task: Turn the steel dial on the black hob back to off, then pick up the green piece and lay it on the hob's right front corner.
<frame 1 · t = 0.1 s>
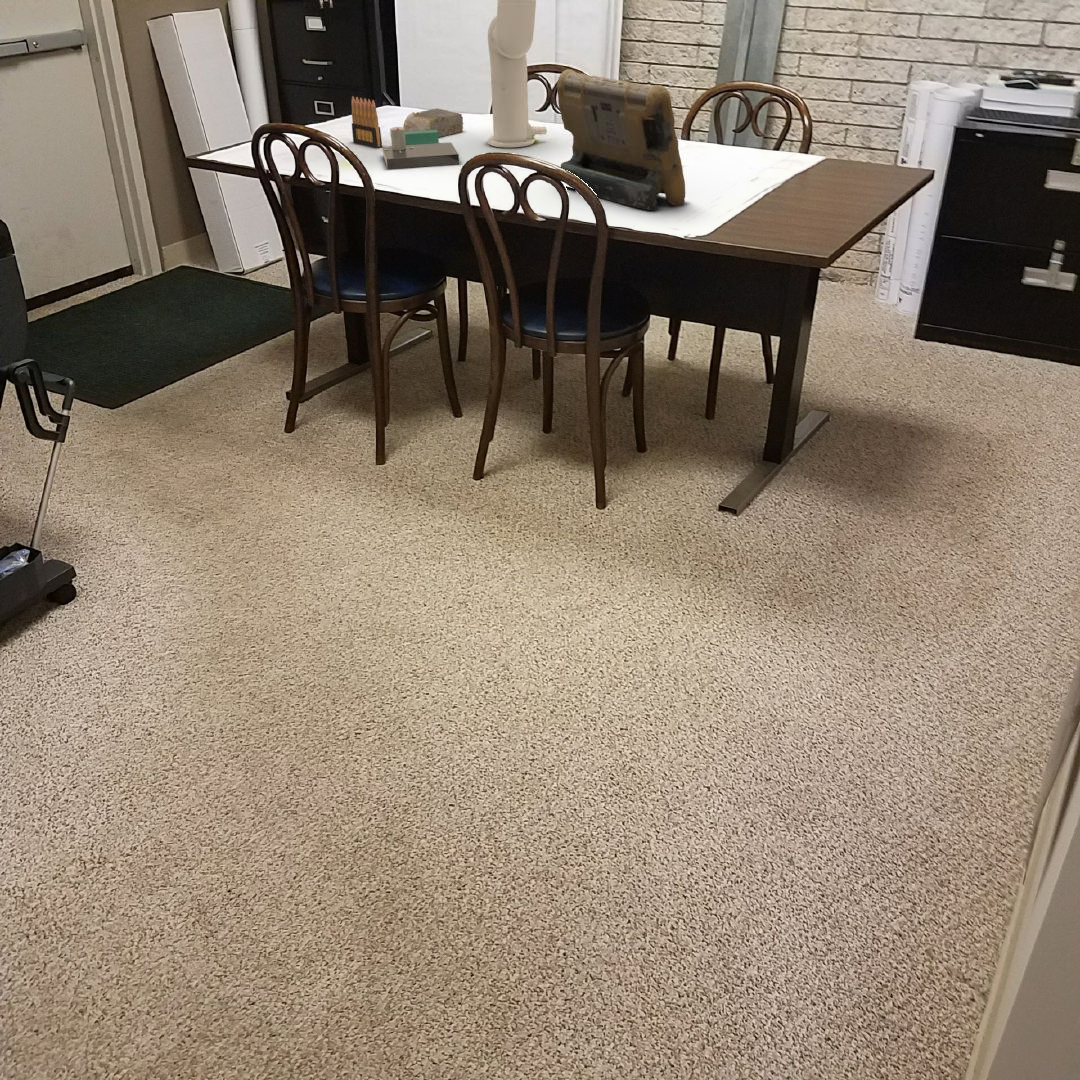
hand: (328, 23, 262), 31 cm above the table, tool pointing down, fingers open, 9 cm apart
tablet: (619, 195, 239), on the table
dial: (398, 138, 270), point 5 cm above the table, hinge at 90.0°
geological specimen: (433, 134, 299), on the table
ammunition clip: (367, 145, 289), on the table
green piece: (421, 146, 285), on the table
hob: (420, 160, 271), on the table
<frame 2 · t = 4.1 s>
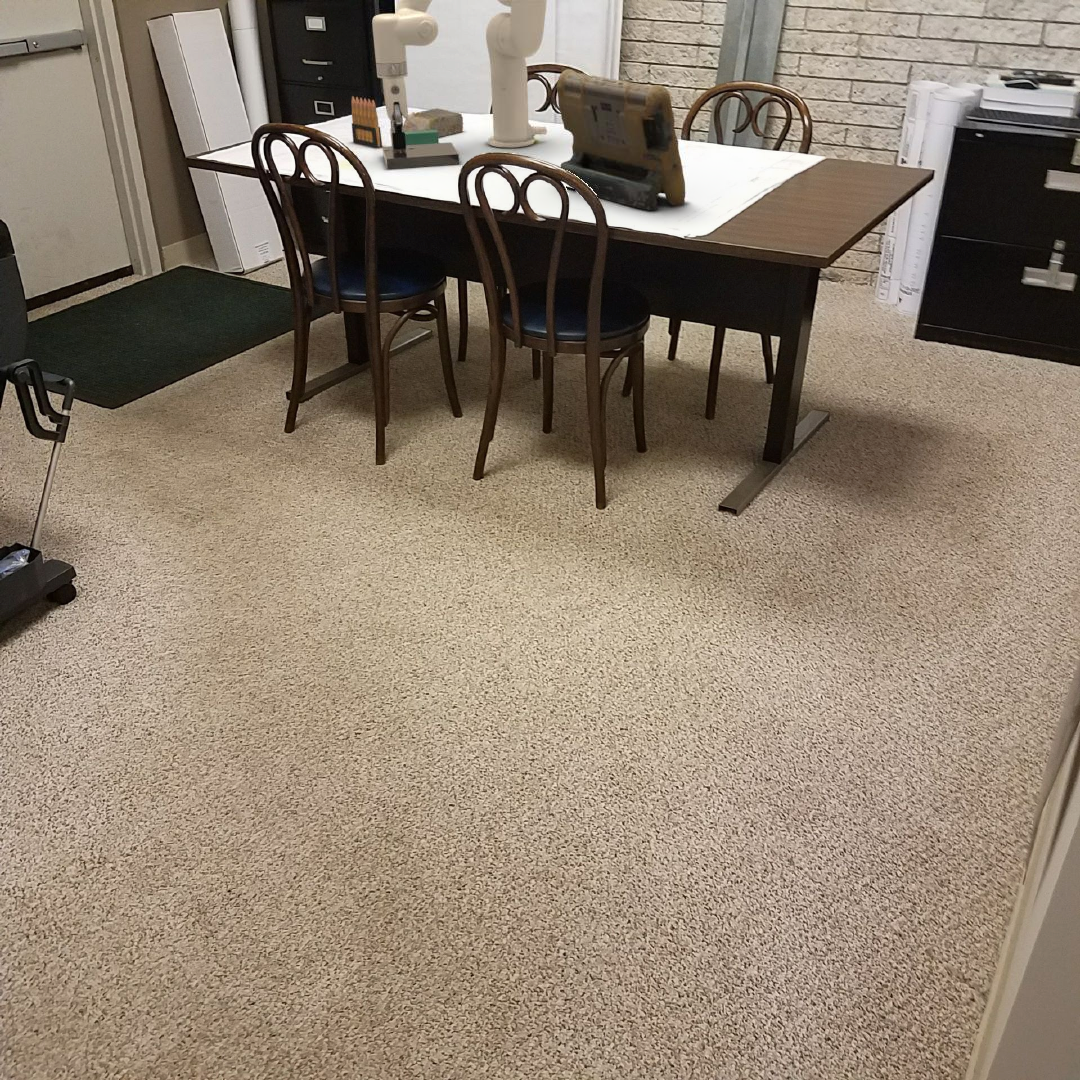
hand: (398, 146, 271), 3 cm above the table, tool pointing down, fingers closed on dial, 3 cm apart
dial: (398, 138, 270), point 5 cm above the table, hinge at 90.0°, touching gripper
everything else where it was.
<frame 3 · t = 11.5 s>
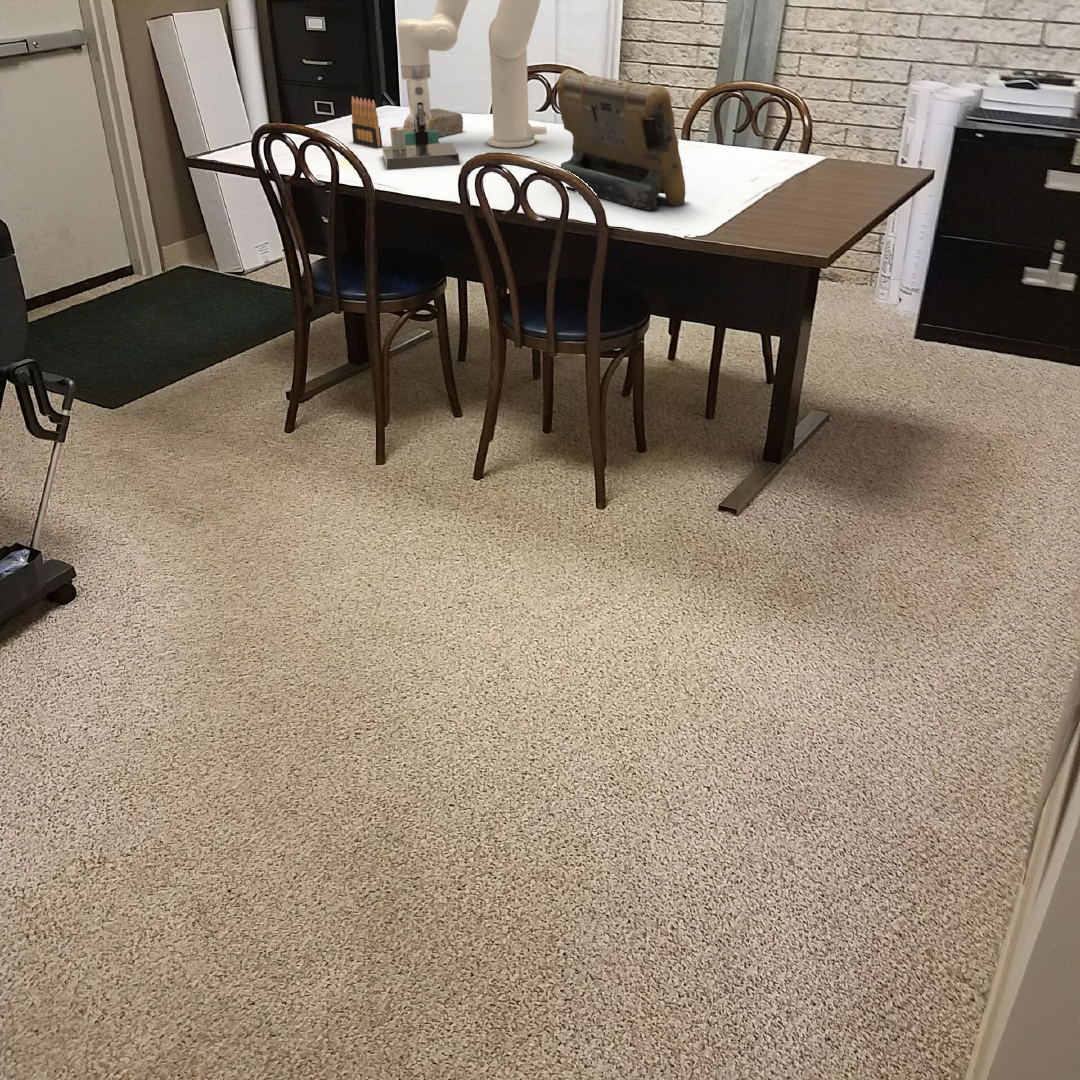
hand: (421, 145, 285), 0 cm above the table, tool pointing down, fingers closed on green piece, 3 cm apart
dial: (398, 138, 270), point 5 cm above the table, hinge at -0.6°
green piece: (421, 146, 285), on the table, touching gripper
everything else where it was.
when the fingers open (3 cm above the table, at t = 20.2 s): green piece stays where it is, resting on hob.
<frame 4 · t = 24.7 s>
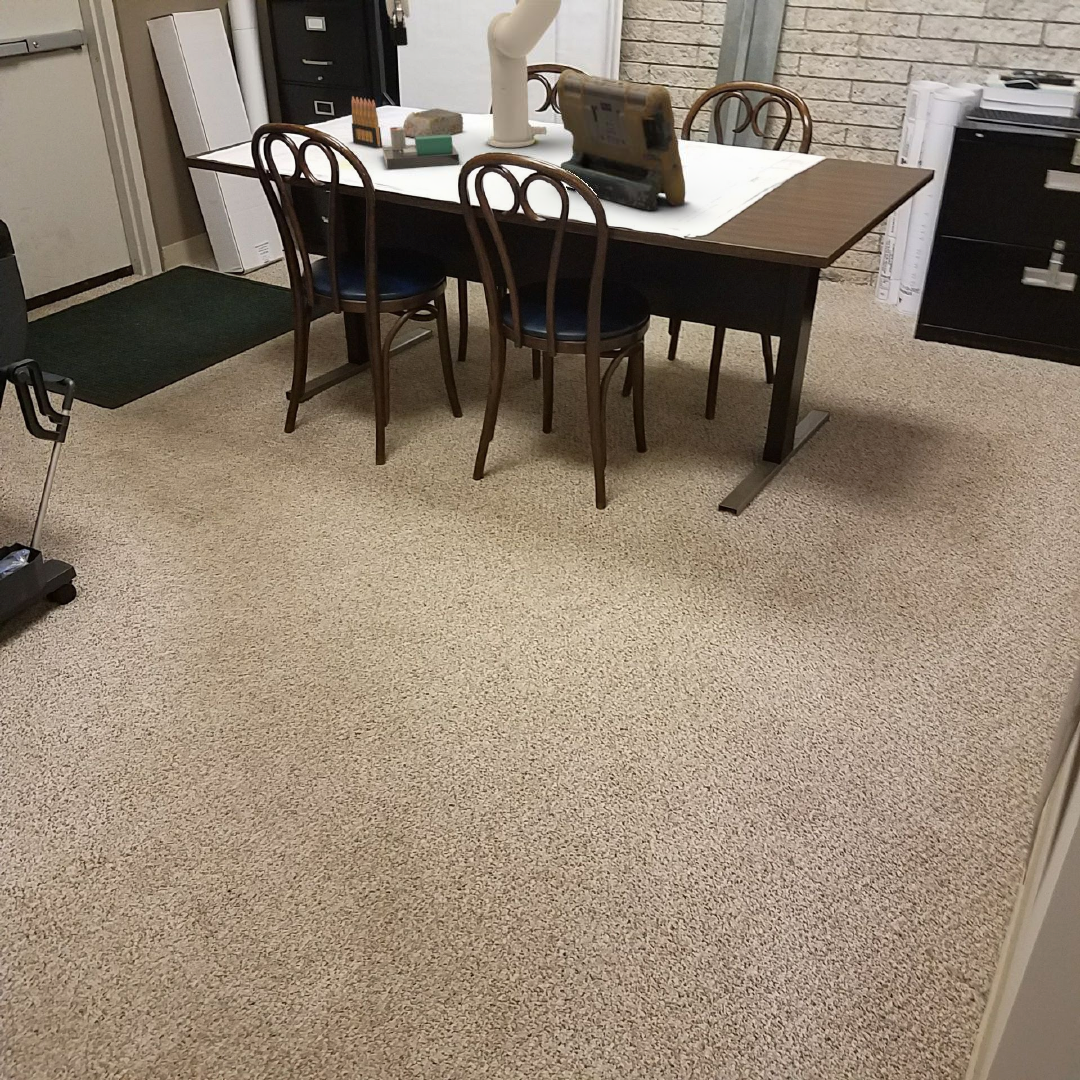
hand: (399, 42, 266), 26 cm above the table, tool pointing down, fingers open, 9 cm apart
green piece: (434, 152, 268), point 2 cm above the table, touching hob
everything else where it was.
at the end: dial at -1° (first picture: +90°); green piece 0.6 cm from the target spot, point 2.5 cm above the table; green piece tilted 0° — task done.
